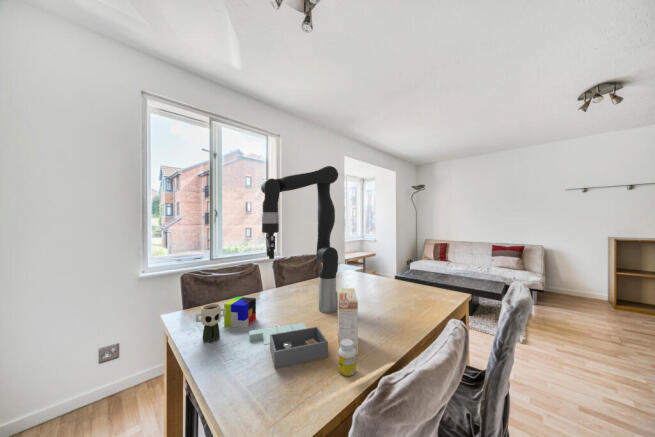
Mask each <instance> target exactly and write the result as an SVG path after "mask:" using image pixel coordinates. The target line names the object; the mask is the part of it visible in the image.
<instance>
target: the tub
mask: <svg viewBox="0 0 655 437" xmlns="http://www.w3.org/2000/svg"><path fill="white" fill-rule="evenodd" d="M310 339H314V340H315V341H317V342H318V343H314V344H309V345H304V341H307V340H310ZM285 342H291V343H292V348H288V349H283V343H285ZM269 351H270V355H271V359H272V364H273V369H274V370H275V369H280V368H284V367H289V366H294V365H297V364H303V363H307V362H312V361H316V360H322V359H325V358H328V357H329V341H328V339H327V338H326V337H325V336H324V334H323V333H322V332H321V330H320V328H319V327H318V326H311V327H307V328H306V329H300V330H294V331H288V332H282V333H276V334H270V344H269Z"/></svg>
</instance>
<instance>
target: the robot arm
mask: <svg viewBox="0 0 655 437" xmlns="http://www.w3.org/2000/svg"><path fill="white" fill-rule="evenodd" d="M338 178H339V172H338V169H336V167H334V166H331V165H327V166H324V167H322V168H320V169H317V170H315V171H310V172H304V173H298V174H297V173H295V174H291V175H285V176H282V177H280V178H272V177H271V178H267V179H266V180H264V181H263V182H262V183H261V186H260V190H261V192H262V193H263V194H264V200H263V201H262V214H261V233H263V234H266V235H265V246H266V256H267V257H268V259H269V260H275V250H276V236H275V234H277V233H279V229H280V227H279V226H280V224H279V219H280V217H279V199H280V193H283V192H289V191H294V190H299V189H302V188H305V187H310V186H312V185H316V188H317V242H316V253H315V254H316V255H315V257H316V259H317V261H318V262H320V263H321V264H322V265H321V268H322V269H320V271H318V311H319V312H321V313H326V314H329V313H334V312H336V311H338V290H337V273H338V270H339V254H338V253H339V252H338V250H337V249H336V248H334V247H332V246H331V234H332V231H333V229H334V226H335V222H336V210H335V205H334V202H333V200H332V198H331V184H334V183H335V182H336V181H337V180H338Z"/></svg>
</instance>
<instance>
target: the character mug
mask: <svg viewBox="0 0 655 437" xmlns="http://www.w3.org/2000/svg"><path fill="white" fill-rule="evenodd" d="M225 315H226V309H225V308H224V307H223V308H222V305H221V303H209V304H205V305H203V306H201V309H200V313H196V314H195V323H201V325H203V332H202V340H203V342H206V343H207V342H212V341H213V340H214V341H216V340H218V339H219V338H220V337H221V336H220V335H221V333H220V327H219V326H220V325H219V322H221V320H222V317H224V316H225ZM199 317H201V318H200V319H199Z"/></svg>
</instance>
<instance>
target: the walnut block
mask: <svg viewBox="0 0 655 437" xmlns="http://www.w3.org/2000/svg"><path fill="white" fill-rule="evenodd" d="M314 343H318V342H317V341H315V340H314V339H310V340H307V341H304V345H309V344H314Z"/></svg>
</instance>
